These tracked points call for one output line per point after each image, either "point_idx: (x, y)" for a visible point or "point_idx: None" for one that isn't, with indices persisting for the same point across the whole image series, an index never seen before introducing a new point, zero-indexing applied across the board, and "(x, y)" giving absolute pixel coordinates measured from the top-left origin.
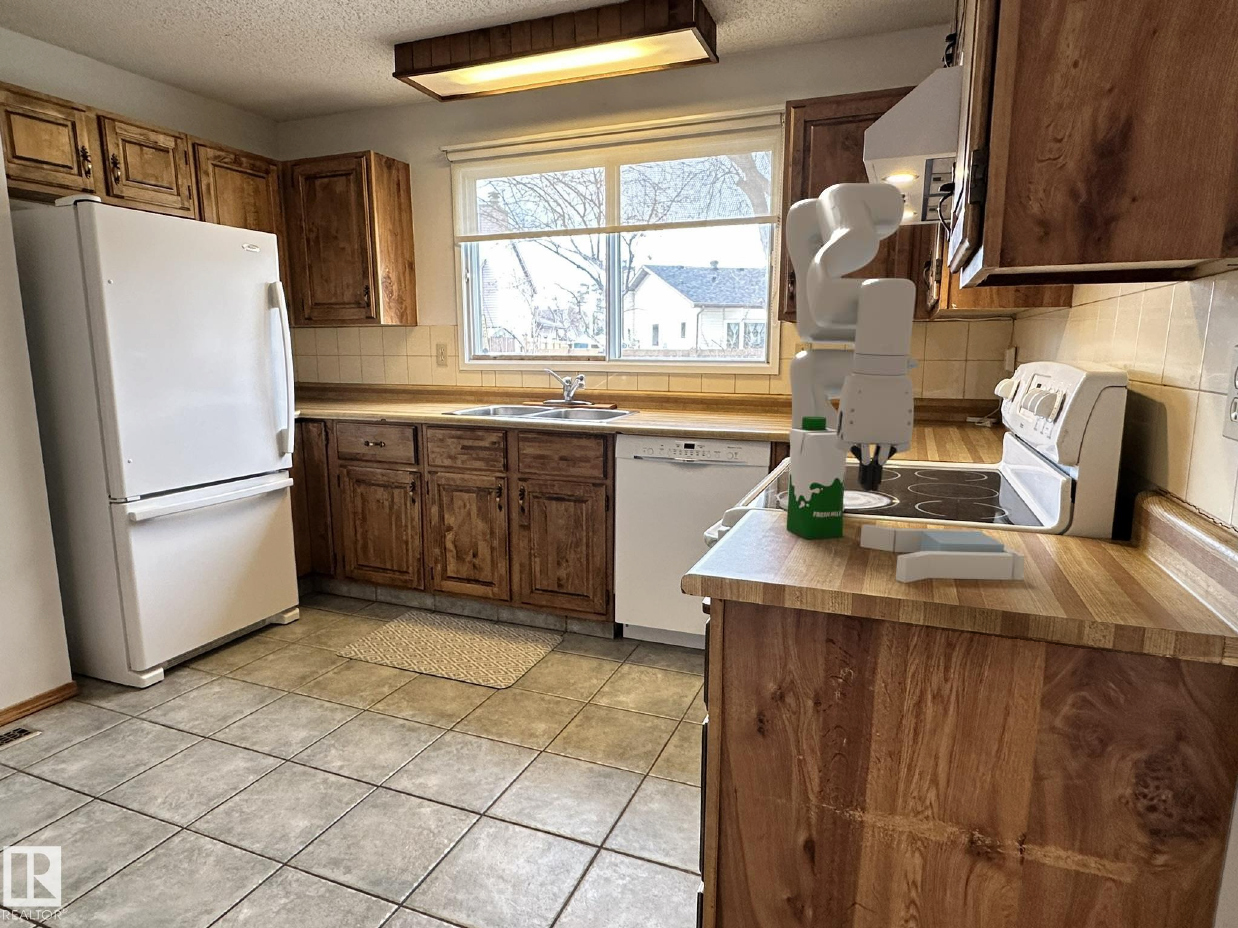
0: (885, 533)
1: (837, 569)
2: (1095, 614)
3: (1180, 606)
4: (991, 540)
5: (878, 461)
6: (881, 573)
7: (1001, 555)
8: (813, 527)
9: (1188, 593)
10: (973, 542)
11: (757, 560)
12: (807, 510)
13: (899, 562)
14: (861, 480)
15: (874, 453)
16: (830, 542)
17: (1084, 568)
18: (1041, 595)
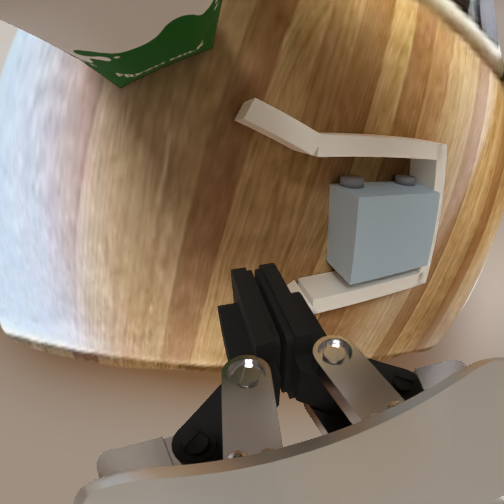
0: (292, 145)
1: (162, 283)
2: (397, 342)
3: (458, 300)
4: (426, 246)
5: (304, 406)
6: None
7: (404, 289)
8: (126, 82)
9: (482, 266)
10: (399, 264)
11: (38, 264)
12: (98, 68)
13: None
14: (224, 344)
15: (325, 384)
16: (171, 96)
17: (473, 209)
18: (391, 311)
